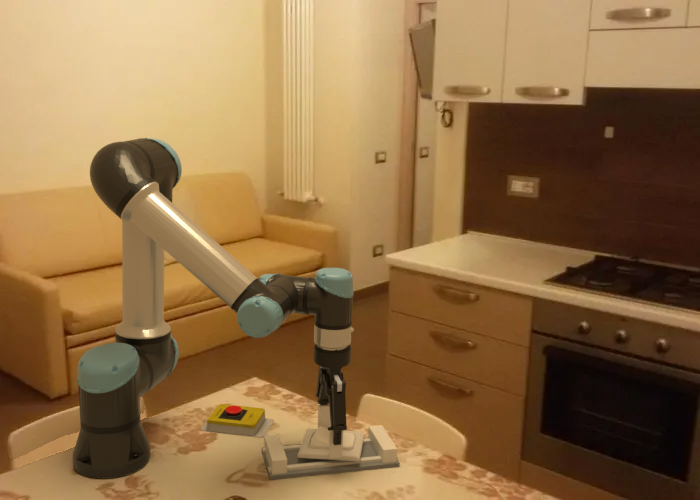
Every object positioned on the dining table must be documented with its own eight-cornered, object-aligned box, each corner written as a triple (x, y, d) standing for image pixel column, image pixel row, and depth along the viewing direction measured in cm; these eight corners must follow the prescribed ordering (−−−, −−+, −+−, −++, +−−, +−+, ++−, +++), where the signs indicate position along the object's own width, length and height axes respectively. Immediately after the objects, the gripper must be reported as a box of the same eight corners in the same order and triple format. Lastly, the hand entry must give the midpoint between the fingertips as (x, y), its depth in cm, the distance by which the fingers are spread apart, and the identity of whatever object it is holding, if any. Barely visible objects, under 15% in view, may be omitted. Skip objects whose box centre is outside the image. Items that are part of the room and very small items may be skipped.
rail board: (269, 479, 147) (270, 462, 146) (261, 450, 159) (261, 434, 158) (399, 466, 154) (400, 449, 153) (382, 439, 165) (383, 423, 165)
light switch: (306, 418, 162) (364, 421, 160) (306, 435, 163) (364, 438, 161) (297, 442, 151) (359, 446, 150) (297, 460, 152) (359, 464, 151)
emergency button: (213, 397, 175) (275, 404, 173) (213, 415, 176) (275, 421, 173) (199, 414, 166) (263, 421, 164) (199, 432, 167) (263, 440, 165)
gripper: (365, 363, 141) (361, 470, 146) (337, 325, 162) (334, 419, 167) (326, 366, 139) (323, 473, 144) (303, 327, 160) (301, 422, 165)
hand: (329, 444), depth 156 cm, fingers closed on light switch, 10 cm apart
